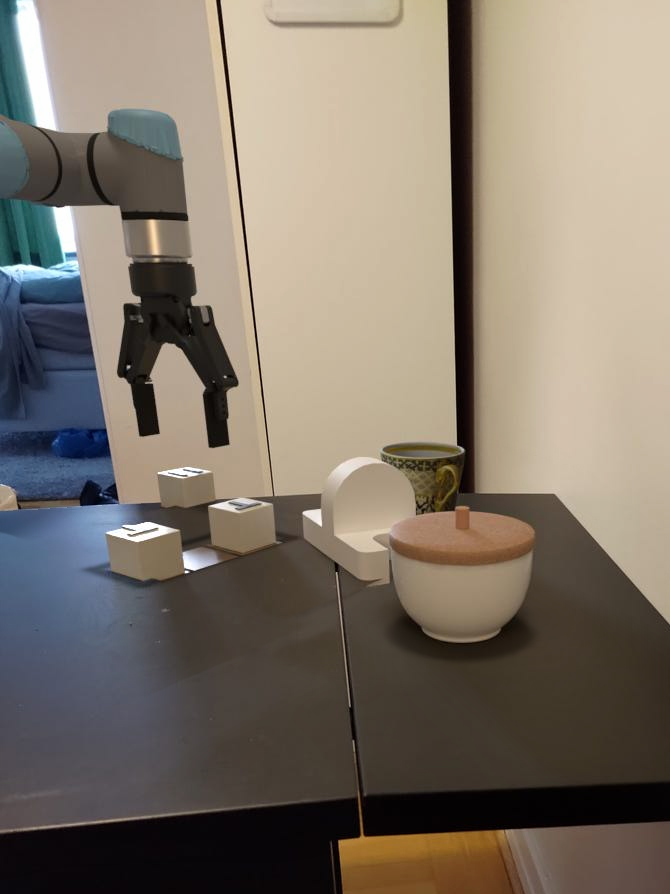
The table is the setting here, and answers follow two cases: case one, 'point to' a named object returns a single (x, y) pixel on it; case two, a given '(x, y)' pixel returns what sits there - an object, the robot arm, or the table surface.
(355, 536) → the u-slot stand
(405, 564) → the lidded bowl
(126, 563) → the tile
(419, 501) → the ceramic cup
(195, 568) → the word board
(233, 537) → the tile
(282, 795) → the table surface
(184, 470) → the tile middle
